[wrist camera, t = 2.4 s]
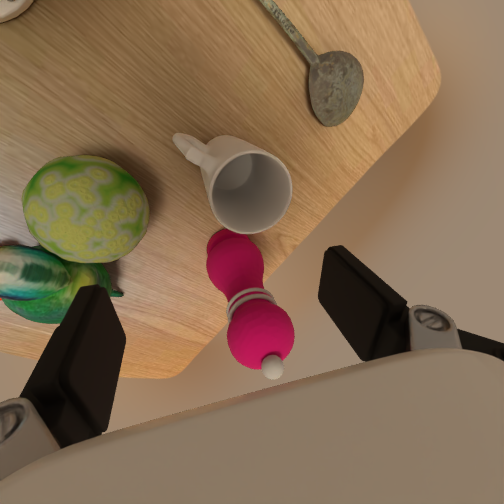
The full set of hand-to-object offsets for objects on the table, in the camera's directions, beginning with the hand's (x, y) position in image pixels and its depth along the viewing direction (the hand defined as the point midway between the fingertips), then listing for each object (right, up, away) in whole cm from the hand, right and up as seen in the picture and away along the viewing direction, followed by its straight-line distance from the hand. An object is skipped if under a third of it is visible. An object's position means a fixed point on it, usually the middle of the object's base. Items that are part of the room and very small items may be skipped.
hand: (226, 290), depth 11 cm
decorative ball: (-15, +8, +17) cm, 24 cm away
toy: (-22, -3, +21) cm, 31 cm away
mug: (-3, +13, +18) cm, 22 cm away
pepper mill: (-2, +2, +25) cm, 25 cm away
